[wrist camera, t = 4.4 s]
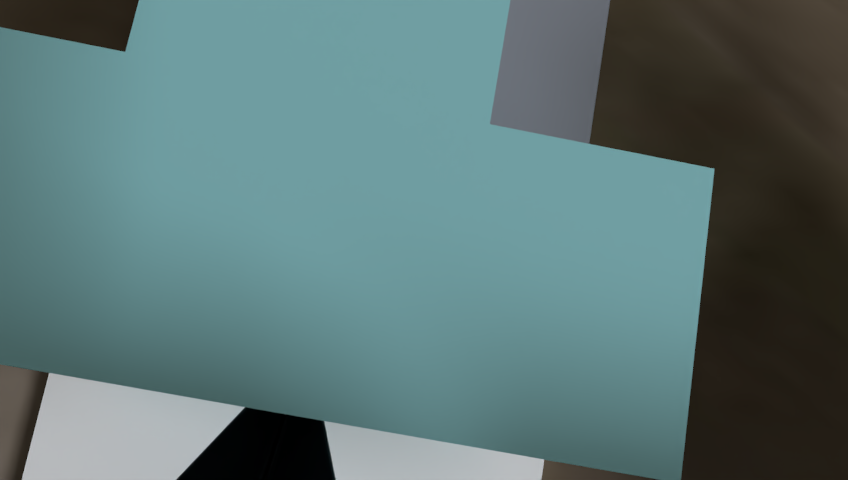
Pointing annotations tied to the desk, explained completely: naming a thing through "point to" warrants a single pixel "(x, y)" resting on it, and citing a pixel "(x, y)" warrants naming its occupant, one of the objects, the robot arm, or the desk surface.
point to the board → (349, 445)
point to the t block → (345, 232)
